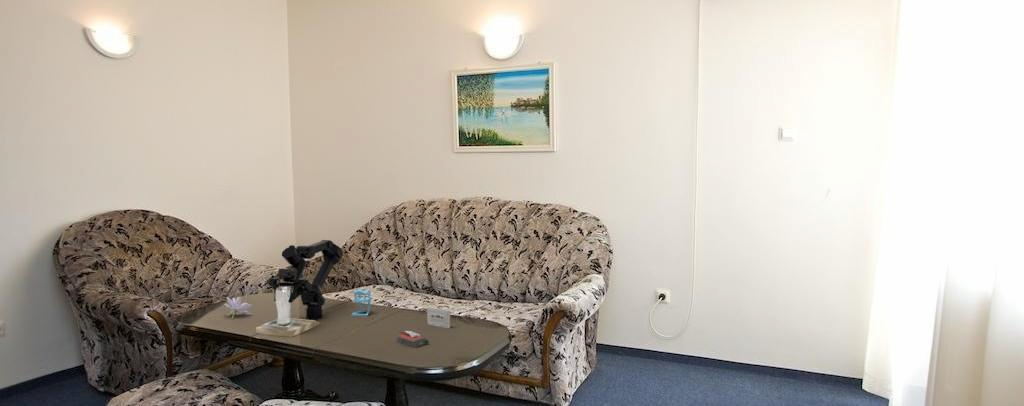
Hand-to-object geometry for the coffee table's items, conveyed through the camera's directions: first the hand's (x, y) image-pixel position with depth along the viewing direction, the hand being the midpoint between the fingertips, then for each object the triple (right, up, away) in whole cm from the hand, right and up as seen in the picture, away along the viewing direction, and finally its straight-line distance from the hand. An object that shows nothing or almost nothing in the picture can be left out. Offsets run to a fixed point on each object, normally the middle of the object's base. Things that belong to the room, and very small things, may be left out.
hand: (282, 302), depth 249 cm
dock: (0, -13, +7) cm, 14 cm away
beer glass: (0, -9, +3) cm, 10 cm away
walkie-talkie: (+56, -14, -11) cm, 58 cm away
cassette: (+65, -12, +8) cm, 67 cm away
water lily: (-31, -12, +28) cm, 43 cm away
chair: (+27, -11, +29) cm, 41 cm away
